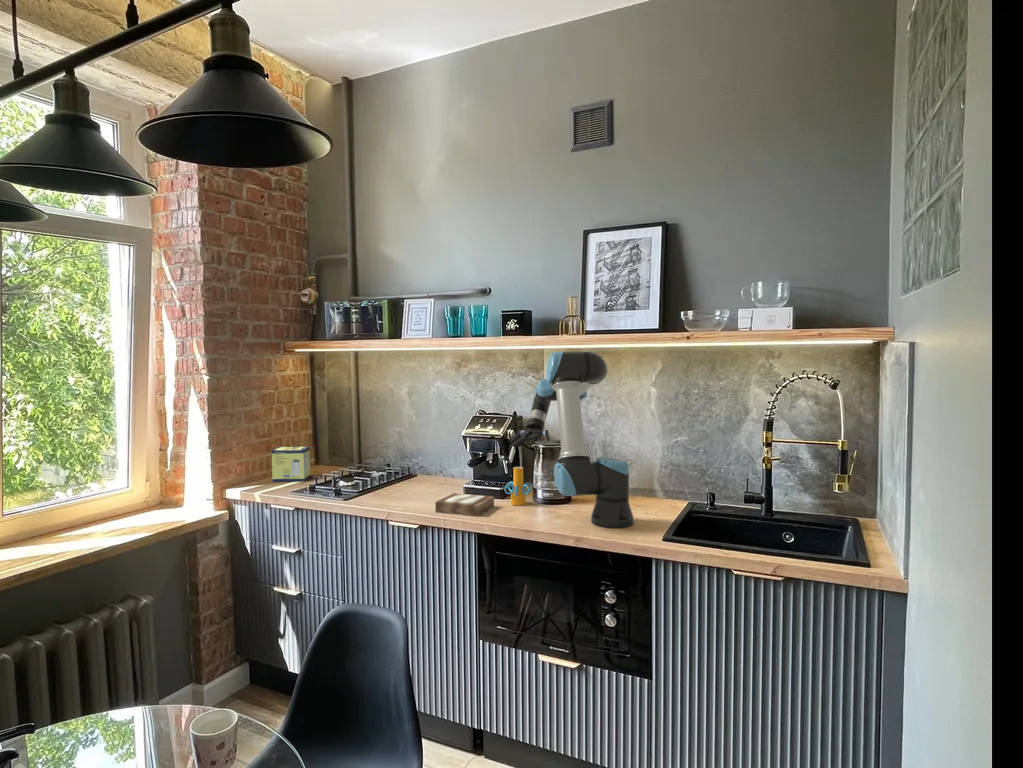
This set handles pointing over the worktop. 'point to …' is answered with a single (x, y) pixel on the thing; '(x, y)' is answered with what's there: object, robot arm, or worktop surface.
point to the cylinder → (518, 488)
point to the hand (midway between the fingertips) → (525, 461)
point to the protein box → (290, 464)
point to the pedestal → (465, 504)
